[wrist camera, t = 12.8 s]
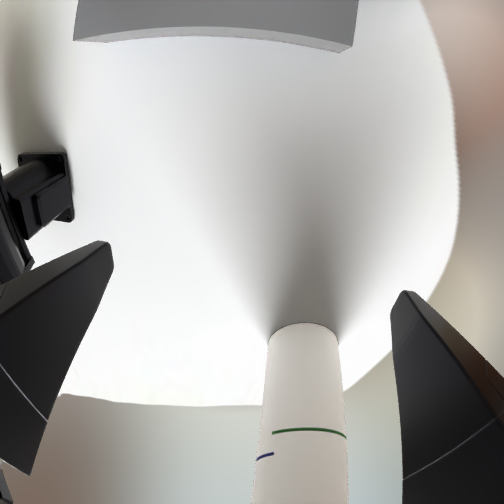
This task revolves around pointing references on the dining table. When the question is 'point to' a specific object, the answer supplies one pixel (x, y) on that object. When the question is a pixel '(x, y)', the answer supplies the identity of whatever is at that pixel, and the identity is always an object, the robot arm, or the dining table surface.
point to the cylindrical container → (302, 421)
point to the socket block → (220, 20)
